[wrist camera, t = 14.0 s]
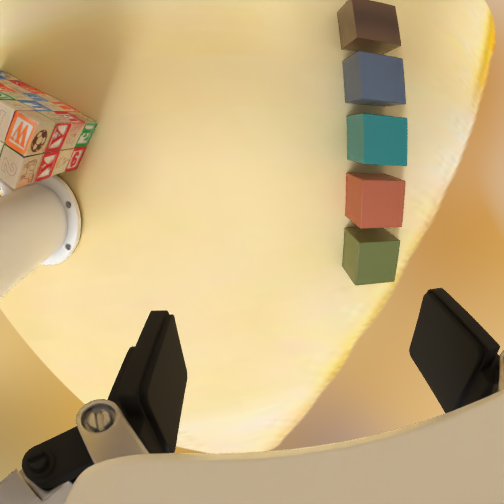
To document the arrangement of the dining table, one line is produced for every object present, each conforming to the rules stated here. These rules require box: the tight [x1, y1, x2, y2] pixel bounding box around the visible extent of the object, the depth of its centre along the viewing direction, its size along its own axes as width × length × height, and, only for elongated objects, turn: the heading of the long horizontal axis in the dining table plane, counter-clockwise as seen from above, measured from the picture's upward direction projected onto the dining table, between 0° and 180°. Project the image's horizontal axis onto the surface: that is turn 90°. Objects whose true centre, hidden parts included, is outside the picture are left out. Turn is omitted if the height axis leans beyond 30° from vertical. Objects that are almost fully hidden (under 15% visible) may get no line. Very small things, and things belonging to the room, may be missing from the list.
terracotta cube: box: [345, 173, 405, 229], centre depth 31 cm, size 5×5×5 cm
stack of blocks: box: [0, 70, 97, 189], centre depth 21 cm, size 21×6×12 cm, turn 56°
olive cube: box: [342, 228, 400, 285], centre depth 33 cm, size 5×5×5 cm
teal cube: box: [347, 114, 407, 166], centre depth 28 cm, size 5×5×5 cm
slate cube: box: [343, 51, 406, 106], centre depth 26 cm, size 5×5×5 cm
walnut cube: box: [337, 0, 401, 55], centre depth 23 cm, size 5×5×5 cm
